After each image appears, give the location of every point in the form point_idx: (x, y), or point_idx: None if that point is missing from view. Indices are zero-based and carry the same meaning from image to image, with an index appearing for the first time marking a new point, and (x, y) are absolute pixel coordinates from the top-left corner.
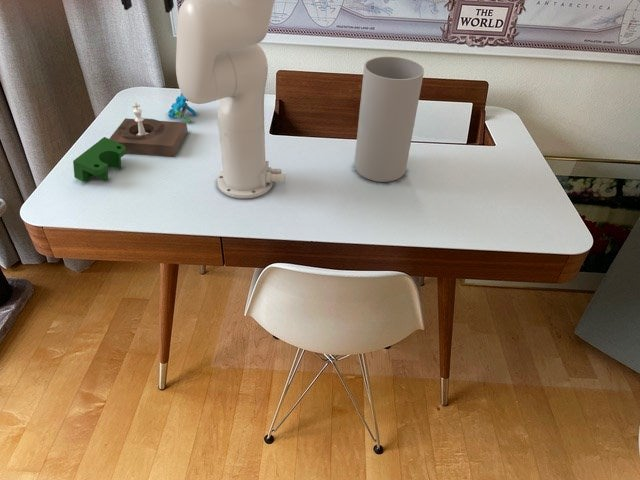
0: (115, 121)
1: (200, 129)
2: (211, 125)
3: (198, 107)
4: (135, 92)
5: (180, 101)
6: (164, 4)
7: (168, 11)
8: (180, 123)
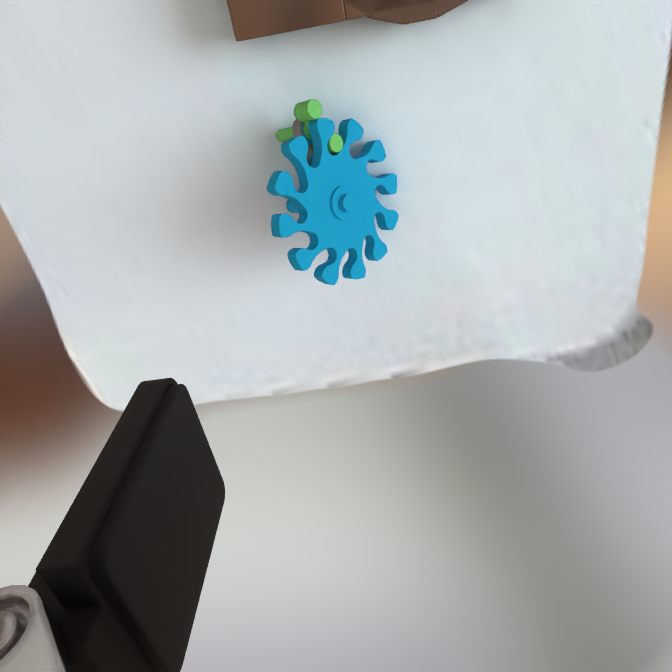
0: (599, 39)
1: (212, 89)
2: (189, 138)
3: None
4: (591, 306)
5: (327, 189)
6: (149, 441)
7: (141, 390)
8: (256, 21)
